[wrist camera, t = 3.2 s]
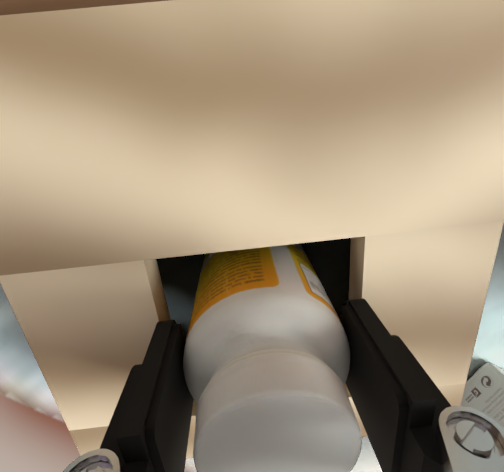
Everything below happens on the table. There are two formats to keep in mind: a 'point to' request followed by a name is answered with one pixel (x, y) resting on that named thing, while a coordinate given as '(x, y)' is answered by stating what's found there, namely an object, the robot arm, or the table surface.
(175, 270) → the table surface
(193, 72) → the lid
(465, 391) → the skincare box
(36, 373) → the table surface
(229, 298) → the supplement bottle
